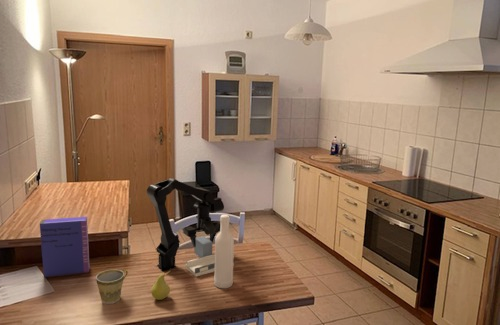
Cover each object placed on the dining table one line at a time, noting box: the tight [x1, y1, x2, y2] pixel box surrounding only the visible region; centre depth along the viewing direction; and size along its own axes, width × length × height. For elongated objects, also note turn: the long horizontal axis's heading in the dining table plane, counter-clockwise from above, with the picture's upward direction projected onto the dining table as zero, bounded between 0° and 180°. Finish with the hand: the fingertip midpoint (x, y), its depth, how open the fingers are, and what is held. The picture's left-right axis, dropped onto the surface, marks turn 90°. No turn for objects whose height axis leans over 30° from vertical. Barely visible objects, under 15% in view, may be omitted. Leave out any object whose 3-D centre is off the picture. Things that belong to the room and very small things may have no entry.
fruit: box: [151, 270, 171, 301], centre depth 144 cm, size 7×8×12 cm
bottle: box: [213, 214, 235, 289], centre depth 154 cm, size 8×8×30 cm
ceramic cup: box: [95, 268, 129, 305], centre depth 143 cm, size 13×10×10 cm
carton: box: [193, 235, 214, 258], centre depth 182 cm, size 5×9×8 cm, turn 36°
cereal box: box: [39, 216, 91, 278], centre depth 160 cm, size 17×5×24 cm, turn 108°
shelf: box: [185, 253, 235, 277], centre depth 171 cm, size 20×10×4 cm, turn 126°
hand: (203, 245), depth 182 cm, fingers open, 9 cm apart
